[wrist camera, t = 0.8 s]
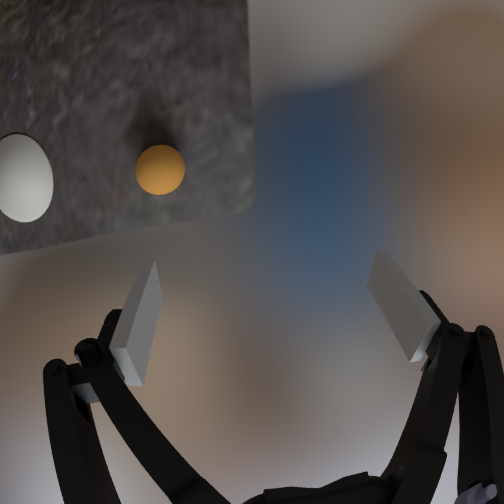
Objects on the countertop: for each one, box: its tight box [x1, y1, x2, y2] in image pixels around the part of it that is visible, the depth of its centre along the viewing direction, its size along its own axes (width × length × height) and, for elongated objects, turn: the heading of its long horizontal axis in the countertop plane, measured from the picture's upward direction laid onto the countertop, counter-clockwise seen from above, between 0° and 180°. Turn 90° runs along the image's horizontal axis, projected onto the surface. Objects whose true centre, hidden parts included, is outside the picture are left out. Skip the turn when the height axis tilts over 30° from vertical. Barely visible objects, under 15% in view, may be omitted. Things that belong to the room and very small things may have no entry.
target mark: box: [0, 134, 54, 222], centre depth 30 cm, size 13×13×1 cm
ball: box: [135, 145, 185, 195], centre depth 30 cm, size 6×6×6 cm
